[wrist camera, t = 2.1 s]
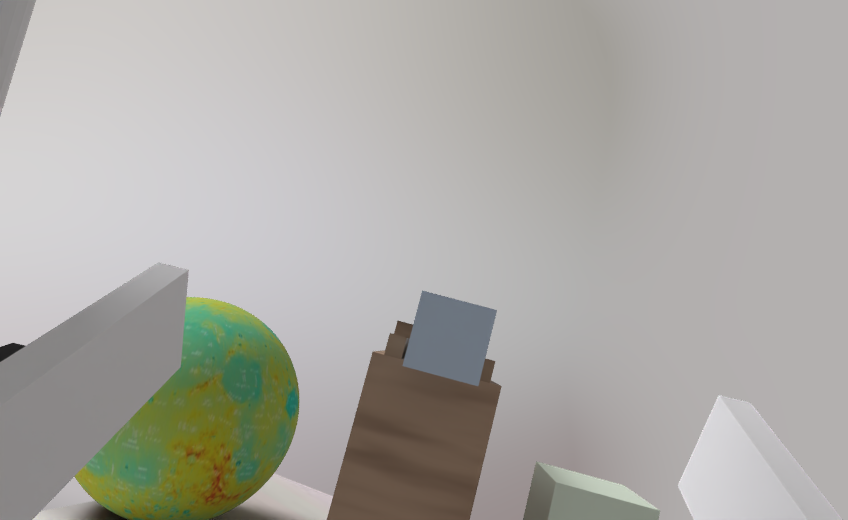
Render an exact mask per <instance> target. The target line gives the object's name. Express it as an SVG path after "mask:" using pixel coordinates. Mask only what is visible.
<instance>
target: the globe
mask: <svg viewBox="0 0 848 520" xmlns="http://www.w3.org/2000/svg"><path fill="white" fill-rule="evenodd" d="M298 414H299V389H298V382H297V377H296V373H295V370H294V367H293V364H292V361H291V359H290V357H289V355H288V353H287V351H286V349H285V347H284V346H283V344H282V343H281V342H280V340H279V339H278V338H277V336H276V335H275V334H274V333H273V332H272V330H271V329H269V328H268V327H267V326H266V325H265V324H264V323H263V322H262V321H260V320H259V319H258V318H256V317H255V316H254V315H252V314H250V313H248V312H247V311H245V310H243V309H241V308H239V307H237V306H234V305H232V304H229V303H226V302H222V301H218V300H213V299H208V298H198V297H197V298H196V297H186V308H185V320H184V333H183V345H182V357H181V367H180V368H179V369H178V370H177V371H176V372H175V373H174V374H173V375H172V376H171V378H170V379H169V380H168V381H167V382H166V383H165V384H164V385H163V386H162V387H161V388H160V389H159V390H158V391H157V392H156V393H155V394H154V395H153V396H152V397H151V398H150V399H149V400H148V401H147V402H146V403H145V404H144V405H143V406H142V407H141V408H140V409H139V410H138V411H137V412H136V413H135V415H134V416H133V417H132V418H131V419H130V420H129V421H128V422H127V423H126V424H125V425H124V426H123V427H122V428H121V429H120V430H119V431H118V432H117V433H116V434H115V435H114V436H113V437H112V438H111V439H110V440H109V441H108V442H107V443H106V444H105V445H104V446H103V447H102V448H101V449H100V450H99V452H98V453H97V454H96V455H95V456H94V457H93V458H92V459H91V460H90V461H89V462H88V463H87V464H86V465H85V466H84V467H83V468H82V469H81V470H80V471H79V472H78V473H77V474H76V475H75V478H76V479H77V481H78V482H79V484H80V485H81V486H82V487H83V489H84V490H85V491H86V492H87V493H88V494H89V495H90V496H91V497H92V498H93V499H94V500H95V501H97V502H98V503H99V504H100V505H102V506H103V507H105V508H106V509H108V510H110V511H111V512H113V513H115V514H117V515H119V516H121V517H124V518H126V519H129V520H208V519H211V518H214V517H217V516H219V515H221V514H224V513H226V512H228V511H230V510H231V509H233V508H235V507H237V506H238V505H240V504H241V503H243V502H244V501H246V500H247V499H248V498H250V497H251V496H252V495H253V494H255V493H256V492H257V491H258V490H259V489H260V488H261V487H262V486H263V485H264V484H265V483H266V482H267V481H268V480H269V479H270V477H271V476H272V475H273V474H274V472H275V471H276V470H277V468H278V467H279V465H280V464H281V462H282V460H283V459H284V457H285V455H286V453H287V451H288V449H289V446H290V444H291V442H292V439H293V436H294V433H295V429H296V425H297V421H298Z"/></svg>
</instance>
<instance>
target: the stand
mask: <svg viewBox="0 0 848 520" xmlns="http://www.w3.org/2000/svg"><path fill="white" fill-rule="evenodd" d="M412 328H413V325H412V324H408V323H404V322H401V321H397V326H396V329H395V333H394V334H391V333H390V335H389V339H388V342H387V346H386V350H385V351H376V352H373V353H372V357H371V361H370V364H369V368H368V371H367V375H366V378H365V382H364V386H363V390H362V393H361V397H360V400H359V404H358V408H357V411H356V415H355V419H354V423H353V426H352V430H351V434H350V437H349V441H348V444H347V448H346V452H345V455H344V459H343V463H342V466H341V470H340V474H339V478H338V481H337V484H336V488H335V492H334V495H333V499H332V503H331V506H330V510H329V514H328V517H327V520H470V515H471V511H472V507H473V502H474V499H475V495H476V490H477V486H478V482H479V478H480V474H481V470H482V465H483V461H484V457H485V453H486V449H487V444H488V440H489V436H490V432H491V428H492V424H493V419H494V415H495V411H496V407H497V403H498V399H499V394H500V390H501V386H500V385H498V384H496V383H494V382H493V381H491V377H492V373H493V368H494V364H495V361H492V360H489V359H485V361H484V365H483V369H482V373H481V377H480V381H479V386H475V385H471V384H468V383H464V382H460V381H456V380H453V379H449V378H445V377H442V376H438V375H434V374H430V373H427V372H423V371H419V370H416V369H412V368H408V367H404V366H403V362H404V358H405V354H406V351H407V347H408V343H409V339H410V336H411V332H412Z"/></svg>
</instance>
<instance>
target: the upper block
mask: <svg viewBox="0 0 848 520" xmlns="http://www.w3.org/2000/svg"><path fill="white" fill-rule="evenodd" d="M659 514H660V510H658V509H657V508H656V507H654V506H653V505H651V504H650V503H648V502H647V501H646V500H644V499H643V498H641V497H640V496H639V495H637V494H636V493H634V492H633V491H631V490H630V489H628V488H627V487H626V486H624V485H620V484H617V483H614V482H610V481H606V480H602V479H599V478H595V477H591V476H588V475H584V474H581V473H577V472H573V471H569V470H566V469H562V468H559V467H555V466H551V465H548V464H544V463H540V462H536V465H535V470H534V474H533V478H532V483H531V487H530V492H529V496H528V500H527V505H526V509H525V513H524V518H523V520H658V518H659Z"/></svg>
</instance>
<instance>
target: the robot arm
mask: <svg viewBox="0 0 848 520" xmlns="http://www.w3.org/2000/svg"><path fill="white" fill-rule="evenodd" d="M35 2H36V0H0V115H1V112H2V108H3V105H4V102H5V99H6V96H7V92H8V89H9V85H10V83H11V79H12V76H13V73H14V70H15V66H16V63H17V60H18V57H19V53H20V50H21V47H22V44H23V40H24V37H25V34H26V31H27V27H28V24H29V21H30V18H31V15H32V11H33V8H34V5H35ZM188 271H189V270H187V269H183V268H178V267H175V266H170V265H166V264H161V263H157V264H155V265H154V266H152V267H151V268H149V269H147V270H146V271H144V272H143V273H141V274H139V275H138V276H136V277H135V278H133V279H131V280H130V281H128V282H127V283H125V284H123V285H122V286H120V287H119V288H117V289H115V290H114V291H112V292H111V293H109V294H108V295H106V296H104V297H103V298H101V299H100V300H98V301H97V302H95V303H93V304H92V305H90V306H89V307H87V308H85V309H84V310H82V311H81V312H79V313H78V314H76V315H74V316H73V317H71V318H70V319H68V320H66V321H65V322H63V323H62V324H60V325H58V326H57V327H55V328H54V329H52V330H51V331H49V332H47V333H46V334H44V335H43V336H41V337H40V338H38V339H36V340H35V341H33V342H31V343H30V344H28V345H27V346H24V345H20V344H15V343H11V344H8V345H5V346H2V347H0V520H32V519H33V518H34V517H35V516H36V515H37V514H38V513H39V512H40V511H41V510H42V509H43V508H44V507H45V506H46V505H47V504H48V503H49V502H50V501H51V500H52V499H53V498H54V497H55V496H56V495H57V493H59V492H60V491H61V489H62V488H63V487H64V486H65V485H66V484H67V483H68V482H69V481H70V480H71V479H72V478H73V477H74V476H75V475H76V474H77V473H78V472H79V471H80V470H81V469H82V468H83V467H84V466H85V465H86V464H87V463H88V462H89V461H90V460H91V459H92V458H93V457H94V456H95V455H96V454H97V453H98V452H99V450H100V449H101V448H102V447H103V446H104V445H105V444H106V443H107V442H108V441H109V440H110V439H111V438H112V437H113V436H114V435H115V434H116V433H117V432H118V431H119V430H120V429H121V428H122V427H123V426H124V425H125V424H126V423H127V422H128V421H129V420H130V419H131V418H132V417H133V416H134V415H135V413H136V412H137V411H138V410H139V409H140V408H141V407H142V406H143V405H144V404H145V403H146V402H147V401H148V400H149V399H150V398H151V397H152V396H153V395H154V394H155V393H156V392H157V391H158V390H159V389H160V388H161V387H162V386H163V385H164V384H165V383H166V382H167V381H168V380H169V379H170V378H171V376H172V375H173V374H174V373H175V372H176V371H177V370H178V369H179V368H180V367H181V357H182V345H183V333H184V320H185V308H186V295H187V283H188ZM678 487H679V489H680V492H681V493H682V496H683V498H684V500H685V502H686V505H687V507H688V509H689V511H690V513H691V515H692V517H693V519H694V520H843V519H842V518H841V517H840V516H839V514H838V513H837V512H836V510H835V509H834V508H833V507H832V505H831V504H830V503H829V502H828V500H827V499H826V498H825V497H824V495H823V494H822V493H821V492H820V490H819V489H818V488H817V486H816V485H815V484H814V483H813V482H812V480H811V479H810V478H809V476H808V475H807V474H806V472H805V471H804V470H803V469H802V468H801V466H800V465H799V464H798V462H797V461H796V460H795V459H794V457H793V456H792V455H791V454H790V452H789V451H788V450H787V449H786V447H785V446H784V445H783V443H782V442H781V441H780V440H779V438H778V437H777V436H776V435H775V433H774V432H773V431H772V430H771V428H770V427H769V426H768V424H767V423H766V422H765V421H764V419H763V418H762V417H761V415H760V414H759V413H758V412H757V410H756V409H755V408H754V407H753V406H752V404H751V403H750V402H746V401H742V400H738V399H733V398H729V397H725V396H721V395H719V396H718V398H717V400H716V402H715V405H714V407H713V409H712V411H711V413H710V416H709V418H708V420H707V422H706V424H705V427H704V429H703V431H702V433H701V436H700V438H699V440H698V442H697V444H696V447H695V449H694V451H693V453H692V455H691V458H690V460H689V462H688V464H687V466H686V469H685V471H684V473H683V475H682V478H681V480H680V482H679V484H678Z"/></svg>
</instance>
